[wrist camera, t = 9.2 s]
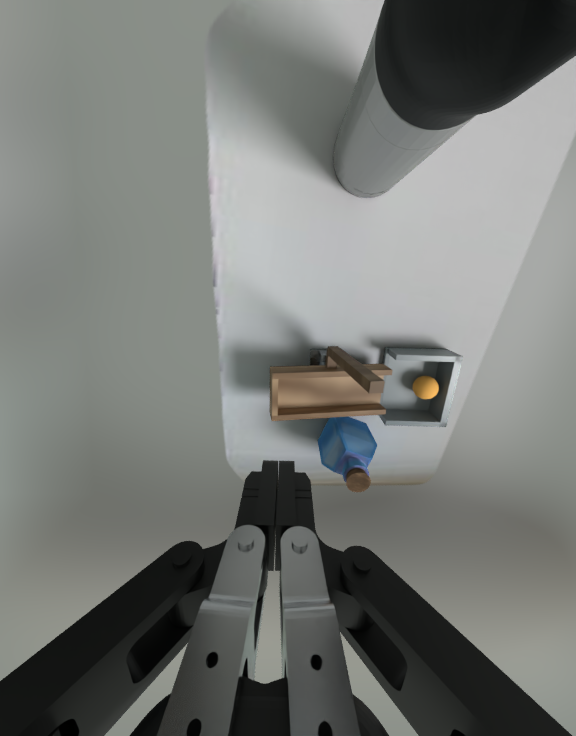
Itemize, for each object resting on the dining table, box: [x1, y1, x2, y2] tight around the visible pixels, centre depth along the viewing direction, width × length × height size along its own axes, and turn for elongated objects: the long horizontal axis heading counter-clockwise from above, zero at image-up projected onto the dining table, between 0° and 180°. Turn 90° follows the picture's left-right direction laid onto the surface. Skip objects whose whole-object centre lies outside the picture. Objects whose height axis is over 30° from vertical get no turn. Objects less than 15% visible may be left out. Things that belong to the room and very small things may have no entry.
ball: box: [413, 376, 439, 399], centre depth 42 cm, size 4×4×4 cm
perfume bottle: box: [318, 417, 377, 492], centre depth 41 cm, size 6×6×12 cm
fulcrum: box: [310, 349, 338, 418], centre depth 42 cm, size 10×5×3 cm, turn 178°
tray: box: [379, 348, 463, 427], centre depth 42 cm, size 11×10×4 cm
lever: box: [270, 346, 393, 421], centre depth 33 cm, size 10×17×14 cm, turn 88°
